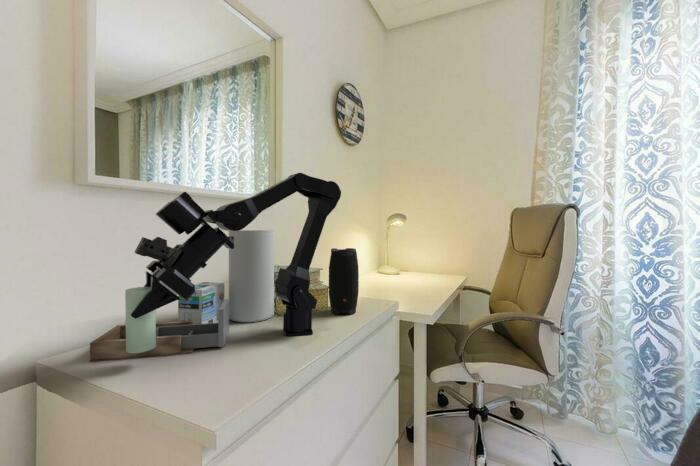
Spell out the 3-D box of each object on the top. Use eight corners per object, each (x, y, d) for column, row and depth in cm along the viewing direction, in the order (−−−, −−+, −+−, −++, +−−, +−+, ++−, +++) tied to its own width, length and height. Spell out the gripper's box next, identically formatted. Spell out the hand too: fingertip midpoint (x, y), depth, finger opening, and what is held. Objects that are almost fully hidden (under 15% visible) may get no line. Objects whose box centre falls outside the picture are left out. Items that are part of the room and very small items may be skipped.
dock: (202, 334, 75) (202, 320, 75) (191, 353, 65) (191, 335, 64) (117, 341, 71) (117, 325, 71) (90, 361, 60) (90, 342, 60)
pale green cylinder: (159, 342, 61) (158, 286, 61) (150, 351, 56) (150, 291, 56) (132, 344, 60) (131, 287, 60) (121, 354, 55) (120, 292, 55)
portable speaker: (354, 317, 91) (354, 250, 91) (324, 314, 94) (324, 249, 94) (361, 309, 99) (361, 248, 99) (333, 307, 102) (334, 247, 102)
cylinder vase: (231, 325, 83) (231, 230, 82) (226, 314, 94) (226, 230, 93) (278, 319, 88) (279, 230, 88) (268, 309, 99) (268, 230, 99)
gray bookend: (229, 332, 76) (229, 299, 76) (223, 346, 67) (223, 309, 67) (156, 337, 72) (156, 302, 72) (140, 353, 63) (140, 313, 63)
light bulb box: (201, 333, 76) (201, 289, 76) (176, 332, 77) (176, 288, 77) (225, 320, 87) (225, 282, 87) (203, 319, 88) (203, 281, 88)
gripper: (157, 222, 67) (92, 279, 61) (173, 221, 53) (89, 296, 46) (197, 257, 72) (141, 312, 66) (222, 265, 58) (152, 337, 51)
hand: (131, 313), depth 57 cm, fingers closed on pale green cylinder, 5 cm apart
